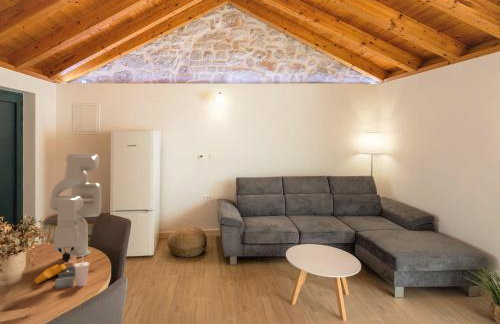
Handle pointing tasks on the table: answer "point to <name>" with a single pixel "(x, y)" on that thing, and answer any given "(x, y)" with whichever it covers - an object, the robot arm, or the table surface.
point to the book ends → (65, 278)
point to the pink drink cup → (81, 272)
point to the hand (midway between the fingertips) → (66, 261)
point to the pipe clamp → (50, 273)
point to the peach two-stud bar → (71, 261)
